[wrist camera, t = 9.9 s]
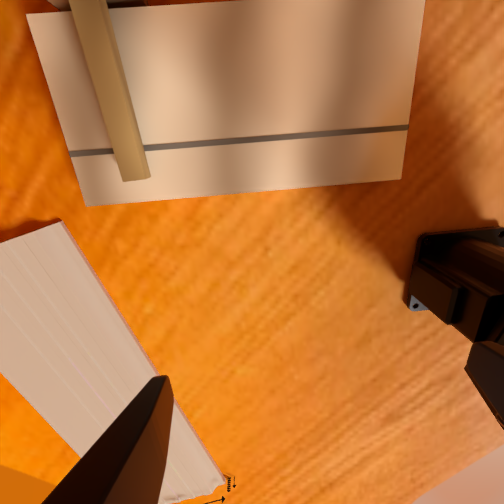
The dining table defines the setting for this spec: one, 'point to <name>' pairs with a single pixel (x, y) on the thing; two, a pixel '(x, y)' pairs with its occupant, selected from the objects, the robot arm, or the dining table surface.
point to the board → (242, 95)
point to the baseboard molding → (83, 355)
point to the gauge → (110, 80)
